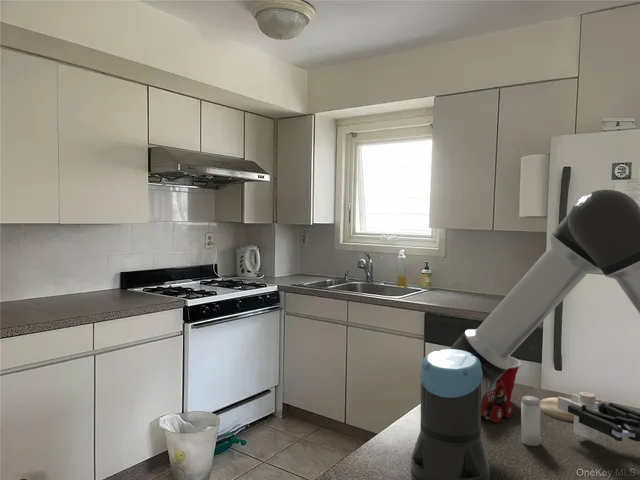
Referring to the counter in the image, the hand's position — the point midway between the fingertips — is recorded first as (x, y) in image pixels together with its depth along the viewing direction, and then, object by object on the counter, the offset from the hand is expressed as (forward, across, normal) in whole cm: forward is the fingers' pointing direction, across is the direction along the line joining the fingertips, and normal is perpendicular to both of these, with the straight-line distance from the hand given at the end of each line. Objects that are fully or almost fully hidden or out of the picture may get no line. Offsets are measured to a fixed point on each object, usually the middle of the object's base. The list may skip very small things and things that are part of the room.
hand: (565, 400), depth 114 cm
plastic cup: (+21, +1, -8) cm, 22 cm away
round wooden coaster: (+8, +12, -7) cm, 16 cm away
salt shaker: (0, -12, -8) cm, 14 cm away
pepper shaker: (-5, 0, -6) cm, 8 cm away
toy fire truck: (+14, -9, -8) cm, 18 cm away
